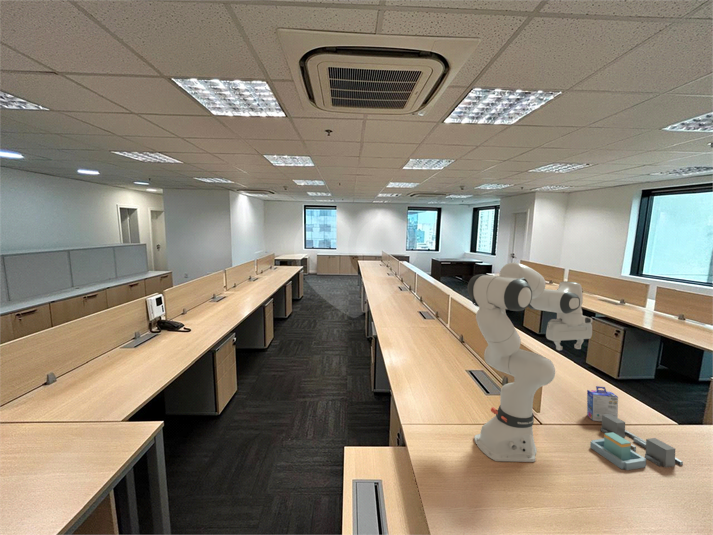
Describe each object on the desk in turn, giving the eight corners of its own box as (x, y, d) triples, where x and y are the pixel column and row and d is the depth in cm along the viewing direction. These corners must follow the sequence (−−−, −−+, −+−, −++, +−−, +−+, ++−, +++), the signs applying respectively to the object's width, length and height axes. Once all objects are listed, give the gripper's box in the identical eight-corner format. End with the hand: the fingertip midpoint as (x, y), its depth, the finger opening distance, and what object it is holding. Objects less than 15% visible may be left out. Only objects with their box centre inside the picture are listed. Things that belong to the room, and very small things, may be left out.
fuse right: (665, 467, 98) (666, 450, 98) (645, 455, 104) (646, 439, 104) (674, 466, 99) (675, 448, 99) (654, 454, 105) (654, 437, 105)
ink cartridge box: (610, 417, 129) (611, 386, 129) (618, 423, 124) (619, 392, 123) (585, 414, 132) (586, 384, 131) (592, 420, 126) (593, 389, 126)
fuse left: (616, 438, 114) (617, 423, 114) (601, 429, 120) (602, 414, 120) (624, 437, 115) (625, 422, 115) (609, 428, 121) (609, 414, 120)
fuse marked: (621, 461, 101) (621, 443, 100) (603, 449, 107) (604, 433, 106) (630, 459, 101) (631, 442, 101) (612, 448, 107) (613, 432, 107)
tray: (623, 470, 97) (624, 463, 97) (588, 446, 109) (588, 440, 109) (647, 466, 99) (648, 460, 99) (610, 443, 111) (611, 437, 111)
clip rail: (655, 469, 98) (656, 465, 98) (593, 430, 119) (593, 427, 119) (682, 464, 100) (682, 460, 100) (616, 427, 121) (616, 424, 121)
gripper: (554, 320, 117) (554, 353, 117) (595, 318, 120) (594, 350, 121) (542, 317, 123) (541, 348, 124) (581, 315, 126) (581, 345, 127)
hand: (568, 349), depth 122 cm, fingers open, 8 cm apart
